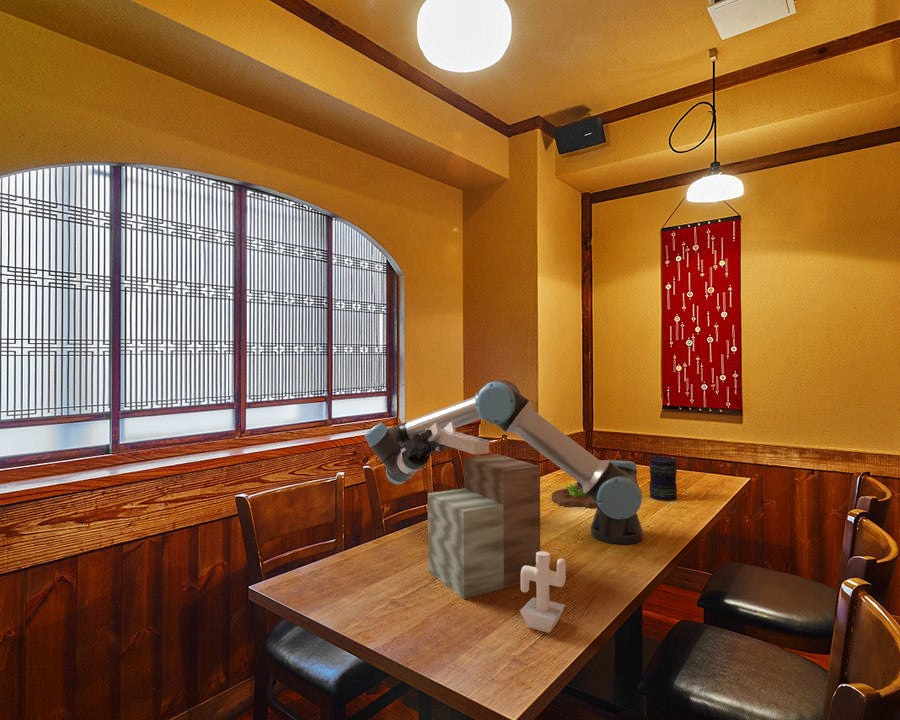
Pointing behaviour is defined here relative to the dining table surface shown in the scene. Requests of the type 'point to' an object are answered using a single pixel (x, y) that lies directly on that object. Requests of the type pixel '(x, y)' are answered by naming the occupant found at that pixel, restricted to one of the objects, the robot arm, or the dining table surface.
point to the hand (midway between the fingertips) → (445, 426)
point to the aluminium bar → (462, 441)
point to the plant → (573, 497)
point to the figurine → (542, 593)
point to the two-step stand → (485, 526)
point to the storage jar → (663, 478)
